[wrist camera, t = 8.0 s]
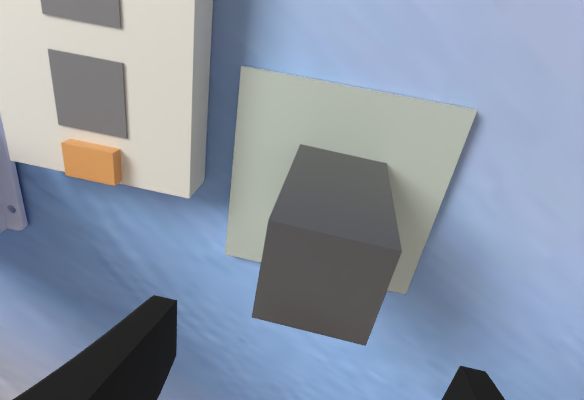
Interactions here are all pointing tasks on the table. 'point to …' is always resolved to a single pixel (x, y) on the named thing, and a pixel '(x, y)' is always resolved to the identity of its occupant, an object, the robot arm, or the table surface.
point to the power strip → (108, 89)
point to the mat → (343, 139)
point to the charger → (329, 246)
